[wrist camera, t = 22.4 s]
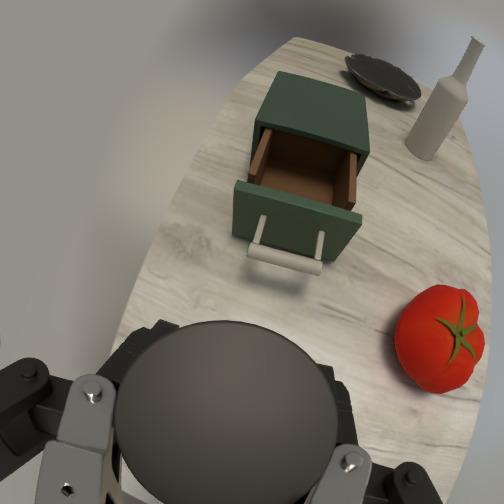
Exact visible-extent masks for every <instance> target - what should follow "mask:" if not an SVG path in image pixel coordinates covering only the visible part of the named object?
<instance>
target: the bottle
mask: <svg viewBox="0 0 504 504" xmlns="http://www.w3.org/2000/svg"><path fill="white" fill-rule="evenodd" d="M471 38H472V40H471V42H470V44H469V46H468V48H467V50H466V52H465V54H464V56H463V58H462V60H461V62H460V63H459V65H458V67H457V68H456V70H455V72H454V73H453V74H452V75H451V76H449V77H445V78H441V79H440V80H439V81H438V83H437V85H436V86H435V88H434V90H433V92H432V94H431V96H430V98H429V99H428V101H427V103H426V105H425V107H424V108H423V110H422V112H421V114H420V115H419V117H418V119H417V121H416V122H415V124H414V126H413V128H412V129H411V131H410V133H409V135H408V136H407V138H406V140H405V143H406V146H407V147H408V149H409V150H410V151H411V152H412V153H413V154H414V155H415V156H417V157H419V158H420V159H423V160H427V161H428V160H430V159H431V158H432V157H433V155H434V154H435V152H436V151H437V150H438V148H439V147H440V145H441V144H442V142H443V141H444V139H445V138H446V136H447V135H448V133H449V131H450V130H451V128H452V127H453V125H454V123H455V122H456V120H457V119H458V117H459V115H460V114H461V112H462V110H463V109H464V107H465V105H466V104H467V102H468V96H467V91H466V84H467V82H468V79H469V77H470V75H471V73H472V70H473V68H474V66H475V64H476V62H477V60H478V58H479V56H480V54H481V52H482V50H483V48H484V47H485V45H484V44H483V43H482V42H480V41H479V40H478V39H476V38H475V37H473V36H471Z"/></svg>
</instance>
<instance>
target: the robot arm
mask: <svg viewBox="0 0 504 504" xmlns="http://www.w3.org/2000/svg"><path fill="white" fill-rule="evenodd" d="M176 329H179V325H176V324H173V323H170V322H167V321H164V320H162V319H160V320H158V322H157V323H156V324H155V325H154V326H153V328H152V329H151V330H150V329H147V328H145V327H142V328H140V329H138V330H136V331H134V332H132V333H131V334H130V335H129V336H128V337H127V338H126V340H125V342H123V343H122V344H121V345H120V346H119V349H117V350H116V351H115V352H114V353H113V354H112V356H111V357H110V358H109V359H108V360H107V361H106V363H105V364H104V365H103V366H102V367H101V368H100V369H99V371H98V372H97V373H96V374H87V375H83V376H80V377H78V378H77V379H76V380H75V381H71V380H66V379H63V378H59V377H55V376H52V375H50V374H49V371H48V368H47V366H46V365H45V364H44V363H43V362H42V361H41V360H39V359H35V358H23V359H20V360H18V361H17V362H15V363H13V364H11V365H9V366H7V367H5V368H4V369H2V370H0V481H2V480H3V479H5V478H6V477H7V476H9V475H10V474H12V473H13V472H14V471H16V470H17V469H18V468H20V467H21V466H23V465H24V464H25V463H26V462H28V461H29V460H30V459H32V458H33V457H34V456H36V455H37V454H39V453H40V452H41V451H43V450H44V453H43V457H42V462H41V467H40V472H39V477H38V483H37V490H36V497H35V504H123V496H122V489H121V474H122V454H121V452H120V449H119V446H118V443H117V439H116V434H115V427H114V409H115V401H116V397H117V392H118V389H119V387H120V384H121V382H122V379H123V377H124V375H125V374H126V372H127V370H128V368H129V367H130V365H131V364H132V363H133V362H134V360H135V359H136V358H137V356H138V355H139V354H140V353H141V352H142V351H143V350H144V349H146V348H147V347H148V346H149V345H150V344H152V343H153V342H154V341H156V340H157V339H159V338H160V337H162V336H164V335H166V334H167V333H169V332H171V331H174V330H176ZM316 364H317V363H316ZM317 365H318V367H319V368H320V369H321V371H322V372H323V373H324V375H325V377H326V379H327V381H328V383H329V385H330V387H331V390H332V392H333V395H334V398H335V402H336V407H337V412H338V436H337V441H336V446H335V450H334V453H333V455H332V458H331V461H330V463H329V465H328V467H327V468H326V470H325V472H324V474H323V475H322V477H321V478H320V479H319V481H318V482H317V483H316V485H315V486H314V487H313V488H312V489H311V490H310V491H309V492H308V493H307V494H306V495H304V496H303V497H302V498H301V499H299V500H298V501H297V502H295V503H294V504H443V503H442V501H441V499H440V497H439V495H438V493H437V491H436V489H435V487H434V485H433V484H432V482H431V480H430V478H429V476H428V474H427V472H426V471H425V469H424V468H423V467H422V466H420V465H419V464H417V463H414V462H404V463H402V464H400V465H399V466H398V467H396V468H395V469H392V468H389V467H385V466H382V465H378V464H375V463H373V462H372V461H371V458H370V456H369V454H368V453H367V452H366V451H365V450H364V449H363V448H361V447H359V446H358V440H357V434H356V428H355V423H354V417H353V413H352V406H351V405H350V403H351V401H350V396H349V392H348V390H347V389H346V387H345V386H344V384H343V383H342V382H341V381H335V378H334V372H333V368H332V366H327V365H322V364H317ZM69 495H71V497H69Z"/></svg>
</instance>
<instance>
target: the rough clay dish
mask: <svg viewBox="0 0 504 504" xmlns="http://www.w3.org/2000/svg"><path fill="white" fill-rule="evenodd" d="M344 59H345V62H346V64H347V66H348V68H349V69H350V70H351V71H352V72H353V76H354V77H356V78H357V80H358V81H359V82H360V83H361V84H363V85H365V86H366V87H367V88H368V89H370V90H372V91H374V92H375V93H376V94H378V95H379V96H380V97H382V98H385V99H391V100H393V101H394V102H400V101H411V100H417V99H418V98H420V97H421V92H420V91H421V90H420V88H419V86H418V85H417V83H416V82H415V81H414V80H413V79H412V78H411V77H410V76H409V75H407V74H406V73H405V72H403V71H402V70H401V69H400V68H398V67H395V66H393V65H392V64H390V63H389V62H386V61H383V60H380V59H377V58H374V59H373V58H371V56H366V55H364V54H357V53H355V54H352V56H351V57H348V56H345V58H344Z"/></svg>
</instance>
